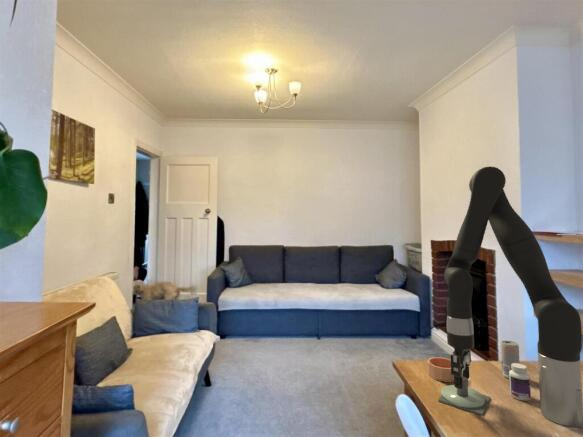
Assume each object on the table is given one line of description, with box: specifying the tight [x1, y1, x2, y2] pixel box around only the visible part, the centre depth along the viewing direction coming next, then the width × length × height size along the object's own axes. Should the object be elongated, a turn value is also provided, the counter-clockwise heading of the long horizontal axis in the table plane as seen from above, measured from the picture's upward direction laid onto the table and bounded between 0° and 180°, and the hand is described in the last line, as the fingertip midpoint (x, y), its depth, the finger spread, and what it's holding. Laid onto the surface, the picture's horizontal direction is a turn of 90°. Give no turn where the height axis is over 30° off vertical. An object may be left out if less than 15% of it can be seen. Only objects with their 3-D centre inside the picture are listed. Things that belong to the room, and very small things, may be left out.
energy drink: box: [500, 340, 521, 379], centre depth 113 cm, size 5×5×12 cm
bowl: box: [426, 356, 458, 383], centre depth 115 cm, size 10×10×5 cm
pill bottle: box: [508, 363, 532, 402], centre depth 100 cm, size 5×5×10 cm
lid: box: [440, 376, 485, 408], centre depth 99 cm, size 12×12×6 cm
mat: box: [437, 393, 491, 417], centre depth 99 cm, size 12×12×1 cm
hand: (462, 382), depth 99 cm, fingers open, 8 cm apart
